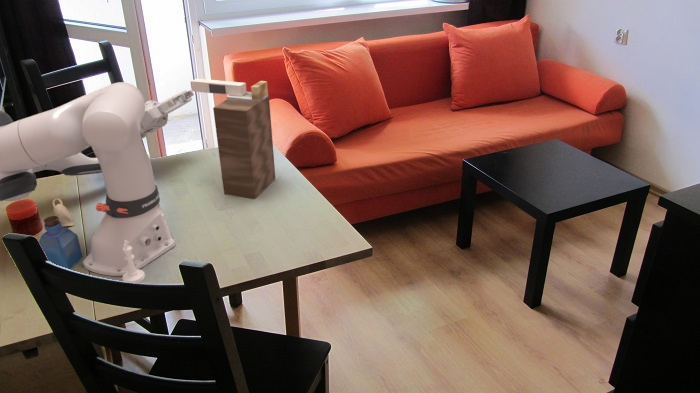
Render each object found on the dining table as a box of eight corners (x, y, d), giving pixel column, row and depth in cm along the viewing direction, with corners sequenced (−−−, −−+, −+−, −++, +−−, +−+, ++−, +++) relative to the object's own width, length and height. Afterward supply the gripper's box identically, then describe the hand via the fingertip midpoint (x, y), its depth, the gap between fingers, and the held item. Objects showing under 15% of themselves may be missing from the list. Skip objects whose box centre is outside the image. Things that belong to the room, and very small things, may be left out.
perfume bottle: (59, 254, 138) (46, 211, 133) (83, 256, 138) (71, 213, 132) (44, 269, 133) (30, 225, 127) (68, 271, 132) (55, 227, 127)
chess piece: (148, 272, 132) (140, 235, 127) (139, 284, 127) (131, 247, 123) (128, 271, 132) (119, 234, 127) (118, 283, 128) (109, 246, 123)
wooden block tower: (254, 198, 163) (244, 95, 149) (224, 194, 166) (211, 92, 151) (275, 178, 175) (267, 80, 160) (246, 174, 178) (236, 78, 163)
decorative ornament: (57, 230, 149) (52, 212, 146) (55, 216, 155) (50, 199, 153) (74, 226, 150) (69, 208, 148) (71, 212, 157) (66, 195, 154)
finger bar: (241, 96, 159) (239, 86, 158) (190, 91, 164) (189, 81, 162) (246, 93, 162) (245, 82, 161) (196, 88, 167) (195, 78, 165)
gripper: (177, 113, 185) (207, 96, 178) (138, 135, 168) (169, 117, 161) (166, 96, 183) (196, 78, 176) (125, 117, 166) (156, 98, 159)
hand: (182, 97), depth 169 cm, fingers open, 8 cm apart
